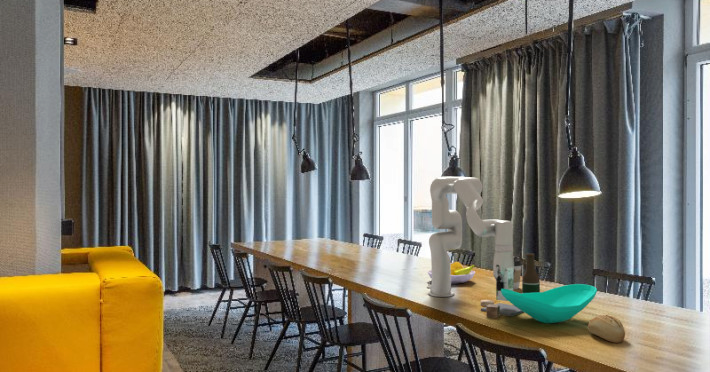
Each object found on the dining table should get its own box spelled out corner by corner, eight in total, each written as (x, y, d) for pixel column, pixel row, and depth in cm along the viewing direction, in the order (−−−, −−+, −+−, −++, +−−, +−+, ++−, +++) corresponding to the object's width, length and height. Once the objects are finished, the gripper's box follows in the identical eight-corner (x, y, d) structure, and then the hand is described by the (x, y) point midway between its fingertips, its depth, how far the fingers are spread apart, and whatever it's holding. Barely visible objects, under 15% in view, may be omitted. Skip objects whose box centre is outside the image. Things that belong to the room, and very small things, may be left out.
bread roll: (602, 331, 209) (602, 310, 209) (633, 342, 194) (633, 319, 194) (581, 334, 206) (580, 312, 206) (610, 345, 192) (610, 322, 192)
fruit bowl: (418, 280, 323) (418, 261, 323) (457, 276, 335) (457, 257, 335) (446, 288, 298) (446, 267, 298) (487, 283, 309) (486, 263, 309)
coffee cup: (525, 289, 290) (525, 261, 290) (503, 290, 290) (503, 261, 290) (519, 285, 301) (519, 258, 301) (498, 286, 302) (498, 258, 302)
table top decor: (521, 333, 208) (520, 298, 208) (488, 316, 235) (487, 285, 235) (615, 326, 216) (614, 292, 216) (572, 310, 243) (572, 280, 243)
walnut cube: (486, 317, 235) (486, 306, 235) (489, 314, 239) (489, 304, 238) (497, 318, 232) (497, 307, 232) (499, 315, 236) (499, 305, 236)
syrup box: (501, 297, 249) (500, 265, 249) (514, 299, 245) (513, 266, 245) (496, 300, 245) (495, 267, 245) (508, 301, 241) (508, 268, 241)
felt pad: (480, 310, 246) (480, 308, 246) (499, 305, 256) (499, 303, 256) (510, 316, 234) (510, 314, 234) (529, 310, 244) (529, 308, 244)
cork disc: (477, 305, 257) (477, 301, 257) (485, 303, 261) (485, 299, 261) (489, 307, 252) (489, 303, 252) (496, 305, 256) (496, 301, 256)
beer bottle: (528, 308, 247) (527, 255, 247) (518, 305, 255) (518, 252, 255) (543, 307, 249) (543, 254, 249) (533, 304, 257) (533, 252, 257)
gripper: (507, 246, 253) (508, 285, 253) (485, 249, 242) (486, 291, 242) (522, 247, 248) (523, 287, 248) (500, 251, 236) (501, 293, 236)
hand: (504, 289), depth 245 cm, fingers closed on syrup box, 6 cm apart
